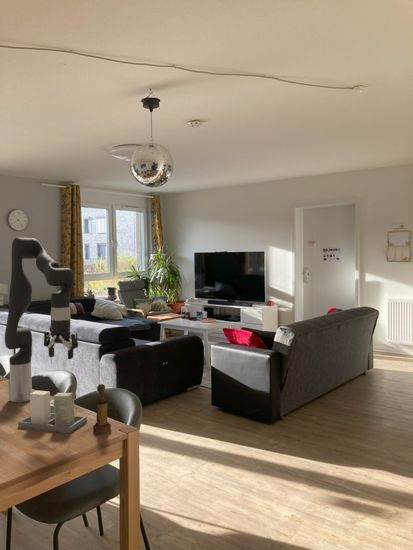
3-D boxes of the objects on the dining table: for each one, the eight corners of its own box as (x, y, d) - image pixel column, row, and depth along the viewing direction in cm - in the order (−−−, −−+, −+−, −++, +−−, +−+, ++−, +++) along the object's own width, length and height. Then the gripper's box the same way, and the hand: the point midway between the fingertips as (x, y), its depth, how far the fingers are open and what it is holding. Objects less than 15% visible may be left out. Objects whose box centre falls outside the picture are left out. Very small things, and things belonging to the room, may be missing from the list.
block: (31, 424, 176) (30, 393, 175) (37, 420, 180) (36, 390, 179) (44, 425, 174) (43, 394, 173) (50, 421, 178) (49, 391, 177)
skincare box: (74, 423, 176) (74, 392, 175) (69, 428, 171) (69, 396, 171) (59, 423, 177) (58, 392, 176) (53, 427, 172) (53, 395, 172)
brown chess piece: (114, 431, 172) (113, 384, 171) (99, 436, 167) (98, 388, 166) (104, 426, 176) (103, 381, 175) (89, 431, 172) (88, 384, 171)
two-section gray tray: (18, 431, 173) (17, 422, 173) (38, 419, 184) (37, 411, 184) (69, 437, 166) (69, 428, 166) (87, 425, 178) (86, 416, 178)
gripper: (81, 317, 183) (81, 357, 184) (51, 315, 187) (51, 354, 188) (70, 320, 176) (70, 361, 177) (39, 318, 180) (39, 358, 181)
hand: (60, 357), depth 183 cm, fingers open, 8 cm apart
